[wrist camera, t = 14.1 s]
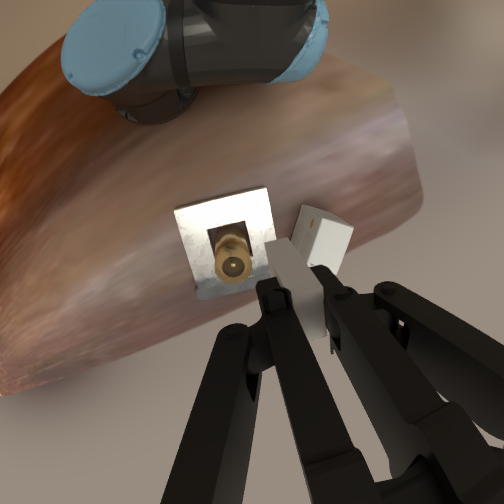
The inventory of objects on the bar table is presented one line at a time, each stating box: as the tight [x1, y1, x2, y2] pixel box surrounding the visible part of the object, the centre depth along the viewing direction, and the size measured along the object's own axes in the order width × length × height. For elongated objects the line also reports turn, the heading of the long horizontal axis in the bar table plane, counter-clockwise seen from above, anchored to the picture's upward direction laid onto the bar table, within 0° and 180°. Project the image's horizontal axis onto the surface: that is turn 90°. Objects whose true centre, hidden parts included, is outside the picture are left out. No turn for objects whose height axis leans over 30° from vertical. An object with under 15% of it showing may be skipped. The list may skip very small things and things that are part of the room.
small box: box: [291, 204, 354, 275], centre depth 43 cm, size 8×6×10 cm
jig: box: [174, 186, 276, 301], centre depth 45 cm, size 15×15×6 cm
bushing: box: [214, 225, 252, 284], centre depth 42 cm, size 5×5×12 cm
